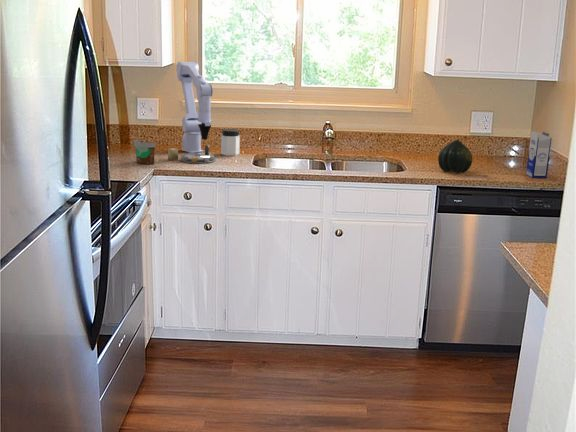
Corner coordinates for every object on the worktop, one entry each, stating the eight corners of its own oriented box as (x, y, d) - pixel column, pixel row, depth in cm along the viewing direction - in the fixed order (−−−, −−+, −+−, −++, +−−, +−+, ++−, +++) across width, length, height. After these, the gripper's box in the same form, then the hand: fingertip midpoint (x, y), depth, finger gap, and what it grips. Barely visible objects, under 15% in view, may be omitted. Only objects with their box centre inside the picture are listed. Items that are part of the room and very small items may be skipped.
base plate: (174, 159, 305) (173, 158, 305) (202, 156, 315) (202, 155, 315) (192, 165, 294) (192, 164, 294) (222, 161, 304) (222, 160, 304)
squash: (451, 164, 285) (469, 137, 288) (427, 159, 298) (444, 134, 300) (466, 183, 293) (484, 157, 296) (442, 178, 306) (459, 153, 308)
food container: (128, 162, 296) (127, 140, 293) (139, 160, 300) (139, 138, 297) (144, 166, 288) (143, 143, 285) (156, 164, 292) (155, 142, 289)
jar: (242, 155, 321) (242, 130, 318) (228, 156, 316) (228, 131, 313) (232, 152, 328) (232, 128, 325) (218, 153, 323) (218, 129, 320)
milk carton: (525, 174, 297) (531, 130, 292) (540, 174, 297) (546, 130, 292) (532, 178, 290) (538, 132, 285) (546, 178, 290) (553, 133, 285)
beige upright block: (167, 159, 305) (167, 148, 303) (174, 158, 307) (174, 147, 305) (171, 160, 302) (171, 149, 301) (178, 160, 304) (178, 148, 303)
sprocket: (175, 157, 305) (174, 145, 304) (202, 154, 315) (202, 142, 313) (192, 163, 294) (192, 150, 292) (220, 159, 304) (220, 147, 302)
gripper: (216, 112, 302) (216, 141, 305) (209, 108, 315) (209, 136, 319) (200, 112, 300) (201, 141, 303) (195, 108, 313) (195, 137, 317)
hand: (204, 139), depth 311 cm, fingers closed
